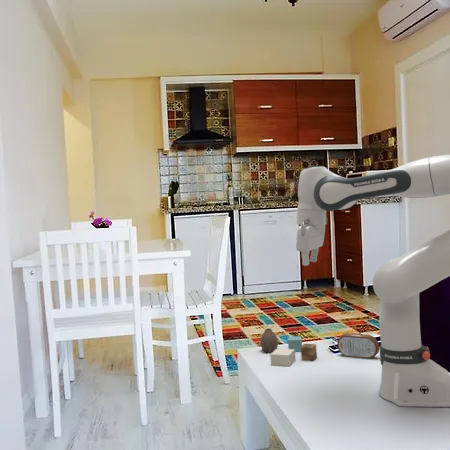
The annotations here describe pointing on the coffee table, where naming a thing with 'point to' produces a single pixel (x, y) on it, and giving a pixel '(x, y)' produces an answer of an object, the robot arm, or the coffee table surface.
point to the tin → (358, 345)
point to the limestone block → (282, 357)
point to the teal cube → (295, 343)
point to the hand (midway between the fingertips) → (309, 263)
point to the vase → (269, 341)
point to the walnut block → (308, 352)
